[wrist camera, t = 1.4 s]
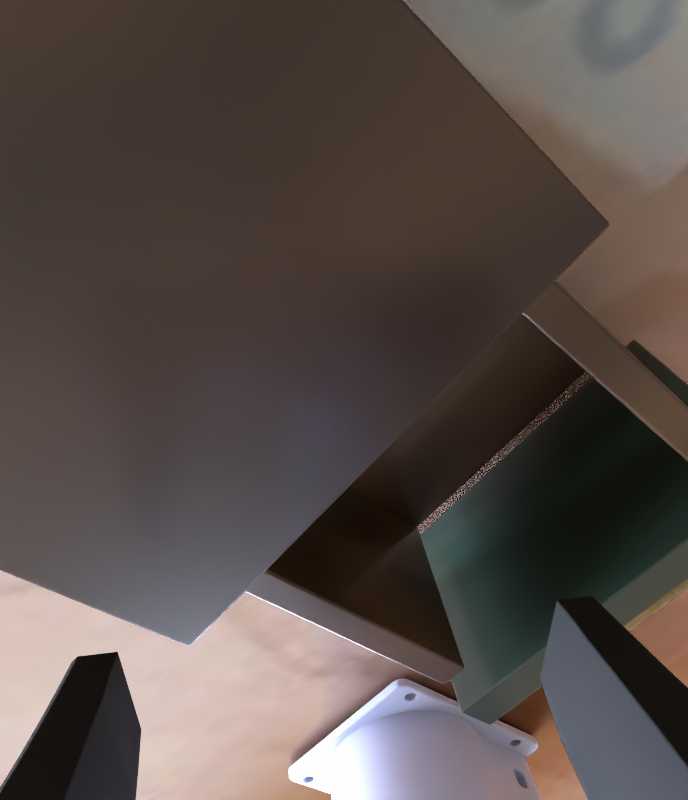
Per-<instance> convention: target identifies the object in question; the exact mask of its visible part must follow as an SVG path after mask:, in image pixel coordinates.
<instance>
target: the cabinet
mask: <svg viewBox="0 0 688 800" xmlns="http://www.w3.org/2000/svg"><path fill="white" fill-rule="evenodd" d="M608 226H609V222H608V221H607V220H606V219H605V218H604V217H603V216H602V214H601V213H600V212H599V211H598V210H597V209H596V208H595V207H594V206H593V205H592V204H591V203H590V202H589V200H588V199H587V198H586V197H585V196H584V195H583V194H582V193H581V192H580V191H579V190H578V189H577V188H576V186H575V185H574V184H573V183H572V182H571V181H570V180H569V179H568V178H567V177H566V176H565V175H564V173H563V172H562V171H561V170H560V169H559V168H558V167H557V166H556V165H555V164H554V163H553V162H552V161H551V159H550V158H549V157H548V156H547V155H546V154H545V153H544V152H543V151H542V150H541V149H540V148H539V147H538V145H537V144H536V143H535V142H534V141H533V140H532V139H531V138H530V137H529V136H528V135H527V134H526V132H525V131H524V130H523V129H522V128H521V127H520V126H519V125H518V124H517V123H516V122H515V121H514V120H513V118H512V117H511V116H510V115H509V114H508V113H507V112H506V111H505V110H504V109H503V108H502V107H501V106H500V104H499V103H498V102H497V101H496V100H495V99H494V98H493V97H492V96H491V95H490V94H489V93H488V91H487V90H486V89H485V88H484V87H483V86H482V85H481V84H480V83H479V82H478V81H477V80H476V79H475V77H474V76H473V75H472V74H471V73H470V72H469V71H468V70H467V69H466V68H465V67H464V66H463V65H462V63H461V62H460V61H459V60H458V59H457V58H456V57H455V56H454V55H453V54H452V53H451V52H450V51H449V49H448V48H447V47H446V46H445V45H444V44H443V43H442V42H441V41H440V40H439V39H438V38H437V36H436V35H435V34H434V33H433V32H432V31H431V30H430V29H429V28H428V27H427V26H426V25H425V24H424V22H423V21H422V20H421V19H420V18H419V17H418V16H417V15H416V14H415V13H414V12H413V11H412V10H411V8H410V7H409V6H408V5H407V4H406V3H405V2H404V1H403V0H0V570H1V571H3V572H6V573H8V574H11V575H13V576H16V577H18V578H21V579H23V580H26V581H28V582H31V583H33V584H36V585H38V586H40V587H43V588H45V589H48V590H50V591H53V592H55V593H58V594H60V595H63V596H65V597H68V598H70V599H73V600H75V601H78V602H80V603H83V604H85V605H88V606H90V607H92V608H95V609H97V610H100V611H102V612H105V613H107V614H110V615H112V616H115V617H117V618H120V619H122V620H125V621H127V622H130V623H132V624H135V625H137V626H140V627H142V628H144V629H147V630H149V631H152V632H154V633H157V634H159V635H162V636H164V637H167V638H169V639H172V640H174V641H177V642H179V643H182V644H184V645H187V646H191V645H192V644H193V643H194V642H195V641H196V640H197V639H198V638H199V637H200V636H201V635H202V634H203V633H204V632H205V631H206V630H207V629H208V628H209V627H210V626H211V625H212V624H213V623H214V622H215V621H216V620H217V619H218V618H219V617H220V616H221V615H222V614H223V613H224V612H225V611H226V610H227V609H228V608H229V607H230V606H231V605H232V604H233V603H234V602H235V601H236V600H237V599H238V598H239V597H240V596H241V595H242V594H243V593H244V592H245V591H246V590H247V589H248V588H249V587H250V586H251V585H252V584H253V583H254V582H255V581H256V580H257V579H258V578H259V577H260V576H261V575H262V574H263V573H264V572H265V571H266V570H267V569H268V568H269V567H270V566H271V565H272V564H273V563H274V562H275V561H276V560H277V559H278V558H279V557H280V556H281V555H282V554H283V553H284V552H285V551H286V550H287V549H288V548H289V547H290V546H291V545H292V544H293V543H294V542H295V541H296V540H297V539H298V538H299V537H300V536H301V535H302V534H303V533H304V532H305V531H306V530H307V529H308V528H309V527H310V526H311V525H312V524H313V523H314V522H315V521H316V519H317V518H318V517H319V516H320V515H321V514H322V513H323V512H324V511H325V510H326V509H327V508H328V507H329V506H330V505H331V504H332V503H333V502H334V501H335V500H336V499H337V498H338V497H339V496H340V495H341V494H342V493H343V492H344V491H345V490H346V489H347V488H348V487H349V486H350V485H351V484H352V483H353V482H354V481H355V480H356V479H357V478H358V477H359V476H360V475H361V474H362V473H363V472H364V471H365V470H366V469H367V468H368V467H369V466H370V465H371V464H372V463H373V462H374V461H375V460H376V459H377V458H378V457H379V456H380V455H381V454H382V453H383V452H384V451H385V450H386V449H387V448H388V447H389V446H390V445H391V444H392V443H393V442H394V441H395V440H396V439H397V438H398V437H399V436H400V435H401V434H402V433H403V432H404V431H405V430H406V429H407V428H408V427H409V426H410V425H411V424H412V423H413V422H414V421H415V420H416V419H417V418H418V417H419V416H420V415H421V414H422V413H423V412H424V411H425V410H426V409H427V408H428V407H429V406H430V405H431V404H432V403H433V402H434V401H435V400H436V399H437V398H438V397H439V396H440V395H441V394H442V393H443V392H444V391H445V390H446V389H447V388H448V387H449V386H450V385H451V384H452V383H453V382H454V381H455V380H456V379H457V378H458V377H459V376H460V375H461V374H462V373H463V372H464V371H465V370H466V369H467V368H468V367H469V366H470V365H471V364H472V363H473V362H474V361H475V360H476V359H477V358H478V357H479V356H480V355H481V354H482V353H483V352H484V351H485V350H486V349H487V348H488V347H489V346H490V345H491V344H492V343H493V342H494V341H495V340H496V339H497V338H498V337H499V336H500V335H501V334H502V333H503V332H504V331H505V330H506V329H507V328H508V327H509V326H510V325H511V324H512V323H513V322H514V321H515V320H516V319H517V318H518V317H519V316H520V315H521V314H522V313H523V312H524V311H525V310H526V309H527V308H528V307H529V306H530V305H531V304H532V303H533V302H534V301H535V300H536V299H537V298H538V297H539V296H540V295H541V294H542V293H543V292H544V291H545V290H546V289H547V288H548V287H549V286H550V285H551V284H552V283H553V282H554V281H555V280H556V279H557V278H558V277H559V276H560V275H561V274H562V273H563V272H564V271H565V270H566V269H567V268H568V267H569V266H570V265H571V264H572V263H573V262H574V261H575V260H576V259H577V258H578V257H579V256H580V255H581V254H582V253H583V252H584V251H585V250H586V249H587V248H588V247H589V246H590V245H591V244H592V243H593V242H594V241H595V240H596V239H597V238H598V237H599V236H600V235H601V234H602V233H603V232H604V231H605V230H606V229H607V228H608Z"/></svg>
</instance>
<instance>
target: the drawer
mask: <svg viewBox="0 0 688 800" xmlns="http://www.w3.org/2000/svg"><path fill="white" fill-rule="evenodd" d="M585 371H586V372H587V373H588V374H589V375H590V376H592V378H591V379H590V380H589V381H588V382H586V383H585V384H584V385H583V386H582V387H581V388H580V389H579V390H578V391H577V392H576V393H574V394H573V395H572V396H571V397H570V398H569V399H568V400H567V401H566V402H565V403H564V404H562V405H561V406H560V407H559V408H558V409H557V410H556V411H555V412H554V413H553V414H552V415H550V416H549V417H548V418H547V419H546V420H545V421H544V422H543V423H542V424H541V425H540V426H538V427H537V428H536V429H535V430H534V431H533V432H532V433H531V434H530V435H529V436H528V437H526V438H525V439H524V440H523V441H522V442H521V443H520V444H519V445H518V446H517V447H516V448H514V449H513V450H512V451H511V452H510V453H509V454H508V455H507V456H506V457H505V458H504V459H502V460H501V461H500V462H499V463H498V464H497V465H496V466H495V467H494V468H493V469H492V470H490V471H489V472H488V473H487V474H486V475H485V476H484V477H483V478H482V479H481V480H480V481H478V482H477V483H476V484H475V485H474V486H473V487H472V488H471V489H470V490H469V491H468V492H466V493H465V494H464V495H463V496H462V497H461V498H460V499H459V500H458V501H457V502H456V503H454V504H453V505H452V506H451V507H450V508H449V509H448V510H447V511H446V512H445V513H444V514H442V515H441V516H440V517H439V518H438V519H437V520H436V521H435V522H434V523H433V524H432V525H430V526H429V527H428V528H427V529H426V530H425V531H424V532H423V533H422V534H421V535H420V533H419V530H418V528H417V526H419V525H420V524H421V523H422V522H423V521H424V520H425V519H426V518H427V517H428V516H429V515H430V514H432V513H433V512H434V511H435V510H436V509H437V508H438V507H439V506H440V505H441V504H442V503H443V502H445V501H446V500H447V499H448V498H449V497H450V496H451V495H452V494H453V493H454V492H455V491H456V490H457V489H459V488H460V487H461V486H462V485H463V484H464V483H465V482H466V481H467V480H468V479H469V478H470V477H472V476H473V475H474V474H475V473H476V472H477V471H478V470H479V469H480V468H481V467H482V466H483V465H485V464H486V463H487V462H488V461H489V460H490V459H491V458H492V457H493V456H494V455H495V454H496V453H498V452H499V451H500V450H501V449H502V448H503V447H504V446H505V445H506V444H507V443H508V442H509V441H510V440H512V439H513V438H514V437H515V436H516V435H517V434H518V433H519V432H520V431H521V430H522V429H523V428H525V427H526V426H527V425H528V424H529V423H530V422H531V421H532V420H533V419H534V418H535V417H536V416H538V415H539V414H540V413H541V412H542V411H543V410H544V409H545V408H546V407H547V406H548V405H549V404H551V403H552V402H553V401H554V400H555V399H556V398H557V397H558V396H559V395H560V394H561V393H562V392H563V391H565V390H566V389H567V388H568V387H569V386H570V385H571V384H572V383H573V382H574V381H575V380H576V379H578V378H579V377H580V376H581V375H582V374H583V373H584V372H585ZM686 589H688V384H687V383H686V382H684V381H683V380H682V379H681V378H680V377H678V376H677V375H676V374H675V373H674V372H672V371H671V370H670V369H669V368H668V367H667V366H665V365H664V364H663V363H662V362H661V361H659V360H658V359H657V358H656V357H655V356H653V355H652V354H651V353H650V352H649V351H647V350H646V349H645V348H644V347H643V346H641V345H640V344H639V343H638V342H637V341H635V340H632V341H631V342H630V343H629V344H628V345H627V346H626V347H624V346H623V345H622V344H621V343H620V342H619V341H618V340H617V339H616V338H615V337H614V336H613V335H612V334H611V333H610V332H609V331H608V330H607V329H606V328H605V327H604V326H602V325H601V324H600V323H599V322H598V321H597V320H596V319H595V318H594V317H593V316H592V315H591V314H590V313H589V312H588V311H587V310H586V309H585V308H584V307H583V306H582V305H580V304H579V303H578V302H577V301H576V300H575V299H574V298H573V297H572V296H571V295H570V294H569V293H568V292H567V291H566V290H565V289H564V288H563V287H562V286H561V285H560V284H558V283H557V282H556V281H554V282H553V283H552V284H551V285H550V286H549V287H548V288H547V289H546V290H545V291H544V292H543V293H542V294H541V295H540V296H539V297H538V298H537V299H536V300H535V301H534V302H533V303H532V304H531V305H530V306H529V307H528V308H527V309H526V310H525V311H524V312H523V313H522V314H521V315H520V316H519V317H518V318H517V319H516V320H515V321H514V322H513V323H512V324H511V325H510V326H509V327H508V328H507V329H506V330H505V331H504V332H503V333H502V334H501V335H500V336H499V337H498V338H497V339H496V340H495V341H494V342H493V343H492V344H491V345H490V346H489V347H488V348H487V349H486V350H485V351H484V352H483V353H482V354H481V355H480V356H479V357H478V358H477V359H476V360H475V361H474V362H473V363H472V364H471V365H470V366H469V367H468V368H467V369H466V370H465V371H464V372H463V373H462V374H461V375H460V376H459V377H458V378H457V379H456V380H455V381H454V382H453V383H452V384H451V385H450V386H449V387H448V388H447V389H446V390H445V391H444V392H443V393H442V394H441V395H440V396H439V397H438V398H437V399H436V400H435V401H434V402H433V403H432V404H431V405H430V406H429V407H428V408H427V409H426V410H425V411H424V412H423V413H422V414H421V415H420V416H419V417H418V418H417V419H416V420H415V421H414V422H413V423H412V424H411V425H410V426H409V427H408V428H407V429H406V430H405V431H404V432H403V433H402V434H401V435H400V436H399V437H398V438H397V439H396V440H395V441H394V442H393V443H392V444H391V445H390V446H389V447H388V448H387V449H386V450H385V451H384V452H383V453H382V454H381V455H380V456H379V457H378V458H377V459H376V460H375V461H374V462H373V463H372V464H371V465H370V466H369V467H368V468H367V469H366V470H365V471H364V472H363V473H362V474H361V475H360V476H359V477H358V478H357V479H356V480H355V481H354V482H353V483H352V484H351V485H350V486H349V487H348V488H347V489H346V490H345V491H344V492H343V493H342V494H341V495H340V496H339V497H338V498H337V499H336V500H335V501H334V502H333V503H332V504H331V505H330V506H329V507H328V508H327V509H326V510H325V511H324V512H323V513H322V514H321V515H320V516H319V517H318V518H317V519H316V521H315V522H314V523H313V524H312V525H311V526H310V527H309V528H308V529H307V530H306V531H305V532H304V533H303V534H302V535H301V536H300V537H299V538H298V539H297V540H296V541H295V542H294V543H293V544H292V545H291V546H290V547H289V548H288V549H287V550H286V551H285V552H284V553H283V554H282V555H281V556H280V557H279V558H278V559H277V560H276V561H275V562H274V563H273V564H272V565H271V566H270V567H269V568H268V569H267V570H266V571H265V572H264V573H263V574H262V575H261V576H260V577H259V578H258V579H257V580H256V581H255V582H254V583H253V584H252V585H251V586H250V587H249V588H248V589H247V590H246V591H245V592H246V593H248V594H251V595H253V596H255V597H257V598H259V599H261V600H263V601H266V602H268V603H270V604H272V605H274V606H276V607H278V608H281V609H283V610H285V611H287V612H289V613H291V614H293V615H296V616H298V617H300V618H302V619H304V620H306V621H309V622H311V623H313V624H315V625H317V626H319V627H321V628H324V629H326V630H328V631H330V632H332V633H334V634H336V635H339V636H341V637H343V638H345V639H347V640H349V641H351V642H354V643H356V644H358V645H360V646H362V647H364V648H366V649H369V650H371V651H373V652H375V653H377V654H379V655H381V656H384V657H386V658H388V659H390V660H392V661H394V662H397V663H399V664H401V665H403V666H405V667H407V668H409V669H412V670H414V671H416V672H418V673H420V674H422V675H424V676H427V677H429V678H431V679H433V680H435V681H437V682H439V683H442V684H446V683H447V682H448V681H450V680H451V681H452V684H453V687H454V690H455V694H456V697H457V700H458V703H459V707H460V710H461V712H462V713H464V714H466V715H468V716H470V717H473V718H475V719H477V720H479V721H482V722H484V723H486V724H488V725H491V724H492V723H494V722H495V721H496V720H498V719H499V718H500V717H502V716H503V715H505V714H506V713H507V712H509V711H510V710H511V709H513V708H514V707H515V706H517V705H518V704H519V703H521V702H522V701H523V700H525V699H526V698H527V697H529V696H530V695H532V694H533V693H534V692H536V691H537V690H538V689H540V688H541V687H542V686H543V685H542V682H541V679H540V674H541V669H542V665H543V661H544V656H545V652H546V647H547V643H548V638H549V634H550V629H551V625H552V620H553V616H554V612H555V607H556V603H557V600H559V599H568V598H576V597H585V596H593V597H594V598H595V599H596V600H597V601H598V602H599V603H600V604H601V605H602V606H603V607H604V608H605V609H606V610H607V611H608V612H609V613H610V614H611V615H612V616H613V617H615V618H616V619H617V620H618V621H619V622H620V623H621V624H622V625H623V626H624V627H625V628H626V629H627V630H628V631H630V630H632V629H633V628H634V627H636V626H637V625H639V624H640V623H641V622H643V621H644V620H645V619H647V618H648V617H649V616H651V615H652V614H654V613H655V612H656V611H658V610H659V609H660V608H662V607H663V606H664V605H666V604H667V603H669V602H670V601H671V600H673V599H674V598H675V597H677V596H678V595H679V594H681V593H682V592H683V591H685V590H686Z"/></svg>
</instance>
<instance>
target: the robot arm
mask: <svg viewBox="0 0 688 800" xmlns="http://www.w3.org/2000/svg"><path fill="white" fill-rule="evenodd" d="M540 679H541V682H542V685H543V688H544V692H545V695H546V698H547V701H548V704H549V707H550V710H551V713H552V716H553V719H554V722H555V724H556V727H557V730H558V733H559V736H560V739H561V741H562V743H563V746H564V748H565V750H566V752H567V755H568V757H569V759H570V761H571V763H572V766H573V768H574V770H575V772H576V774H577V776H578V779H579V781H580V783H581V785H582V787H583V790H584V792H585V794H586V796H587V798H588V800H688V688H687V687H686V686H685V685H684V684H683V683H682V682H681V681H680V680H679V679H678V678H676V677H675V676H674V675H673V674H672V673H671V672H670V671H669V670H668V669H667V668H666V667H665V666H664V665H663V664H662V663H661V662H660V661H659V660H658V659H657V658H656V657H654V656H653V655H652V654H651V653H650V652H649V651H648V650H647V649H646V648H645V647H644V646H643V645H642V644H641V643H640V642H639V641H638V640H637V639H636V638H635V637H634V636H633V635H632V634H631V633H630V632H629V631H628V630H627V629H626V628H625V627H624V626H623V625H622V624H621V623H620V622H619V621H618V620H617V619H616V618H615V617H613V616H612V615H611V614H610V613H609V612H608V611H607V610H606V609H605V608H604V607H603V606H602V605H601V604H600V603H599V602H598V601H597V600H596V599H595V598H594V597H593V596H585V597H576V598H568V599H559V600H557V603H556V607H555V612H554V616H553V620H552V625H551V629H550V634H549V638H548V643H547V647H546V652H545V656H544V661H543V665H542V669H541V674H540ZM140 737H141V727H140V724H139V721H138V718H137V714H136V711H135V708H134V704H133V701H132V698H131V695H130V691H129V688H128V685H127V682H126V678H125V675H124V672H123V668H122V665H121V662H120V659H119V655H118V652H113V653H104V654H96V655H88V656H79V657H77V658H76V659H75V660H74V661H73V662H72V663H71V665H70V666H69V668H68V670H67V672H66V674H65V676H64V678H63V680H62V682H61V683H60V685H59V687H58V689H57V691H56V693H55V695H54V696H53V698H52V700H51V702H50V704H49V705H48V707H47V709H46V711H45V713H44V714H43V716H42V718H41V720H40V722H39V723H38V725H37V727H36V728H35V730H34V732H33V734H32V735H31V737H30V739H29V741H28V742H27V744H26V746H25V747H24V749H23V751H22V753H21V754H20V756H19V758H18V759H17V761H16V762H15V764H14V766H13V767H12V769H11V771H10V772H9V774H8V776H7V777H6V779H5V780H4V782H3V784H2V785H1V787H0V800H135V799H136V788H137V776H138V765H139V751H140ZM537 748H538V743H537V741H536V738H535V737H534V736H532V735H529V734H527V733H525V732H523V731H521V730H518V729H516V728H514V727H512V726H510V725H507V724H505V723H503V722H501V721H499V720H496V721H495V722H494V723H492V724H491V725H488V724H486V723H484V722H482V721H479V720H477V719H475V718H473V717H470V716H468V715H466V714H464V713H462V712H461V710H460V707H459V703H458V702H457V701H455V700H452V699H450V698H448V697H446V696H444V695H441V694H439V693H437V692H435V691H433V690H431V689H428V688H426V687H424V686H422V685H420V684H417V683H415V682H413V681H411V680H409V679H405V678H400V679H397V680H395V681H393V682H392V683H391V684H390V685H388V686H387V687H386V688H385V689H384V690H382V691H381V692H380V693H379V694H377V695H376V696H375V697H374V698H373V699H371V700H370V701H369V702H368V703H367V704H365V705H364V706H363V707H362V708H361V709H359V710H358V711H357V712H356V713H354V714H353V715H352V716H351V717H350V718H348V719H347V720H346V721H345V722H344V723H342V724H341V725H340V726H339V727H338V728H336V729H335V730H334V731H333V732H331V733H330V734H329V735H328V736H327V737H325V738H324V739H323V740H322V741H321V742H319V743H318V744H317V745H316V746H315V747H313V748H312V749H311V750H310V751H308V752H307V753H306V754H305V755H304V756H302V757H301V758H300V759H299V760H298V761H296V762H295V763H294V764H293V765H292V766H291V767H290V768H289V778H290V780H292V781H294V782H296V783H300V784H303V785H306V786H309V787H312V788H315V789H318V790H321V791H324V792H327V793H330V794H331V795H332V800H541V797H540V794H539V792H538V789H537V787H536V784H535V781H534V779H533V776H532V773H531V771H530V768H529V765H528V763H527V760H526V757H527V756H529V755H530V754H531V753H533V752H534V751H535V750H536V749H537Z"/></svg>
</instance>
